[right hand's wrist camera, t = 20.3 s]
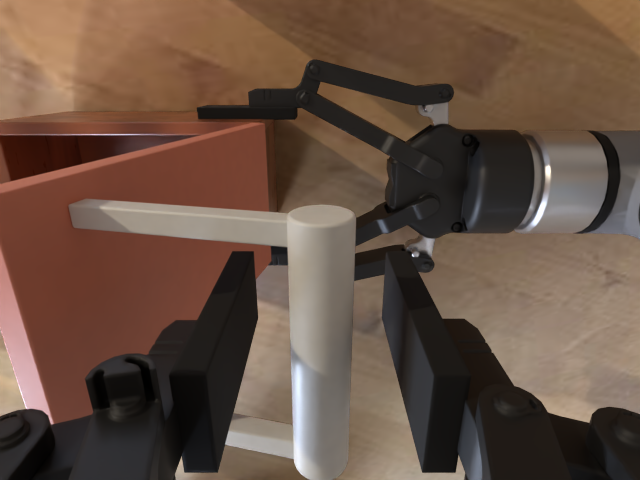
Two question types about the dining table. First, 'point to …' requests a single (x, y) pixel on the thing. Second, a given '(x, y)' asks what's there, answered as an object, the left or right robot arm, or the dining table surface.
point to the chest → (106, 139)
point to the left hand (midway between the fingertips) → (209, 181)
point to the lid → (174, 279)
